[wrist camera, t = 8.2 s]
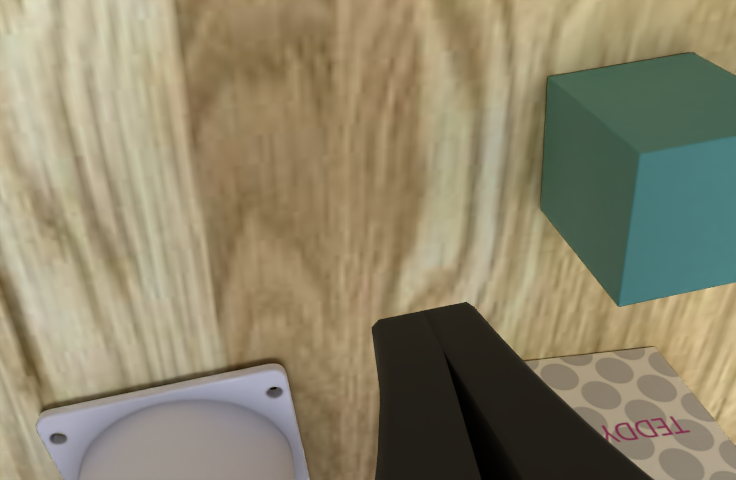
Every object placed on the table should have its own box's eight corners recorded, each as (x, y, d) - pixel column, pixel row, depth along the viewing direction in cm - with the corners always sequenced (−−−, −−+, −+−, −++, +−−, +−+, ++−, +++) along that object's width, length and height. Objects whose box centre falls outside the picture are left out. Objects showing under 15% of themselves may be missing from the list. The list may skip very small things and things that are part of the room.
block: (669, 184, 22) (775, 275, 18) (539, 209, 22) (618, 308, 18) (692, 51, 20) (821, 120, 16) (546, 76, 19) (639, 154, 15)
